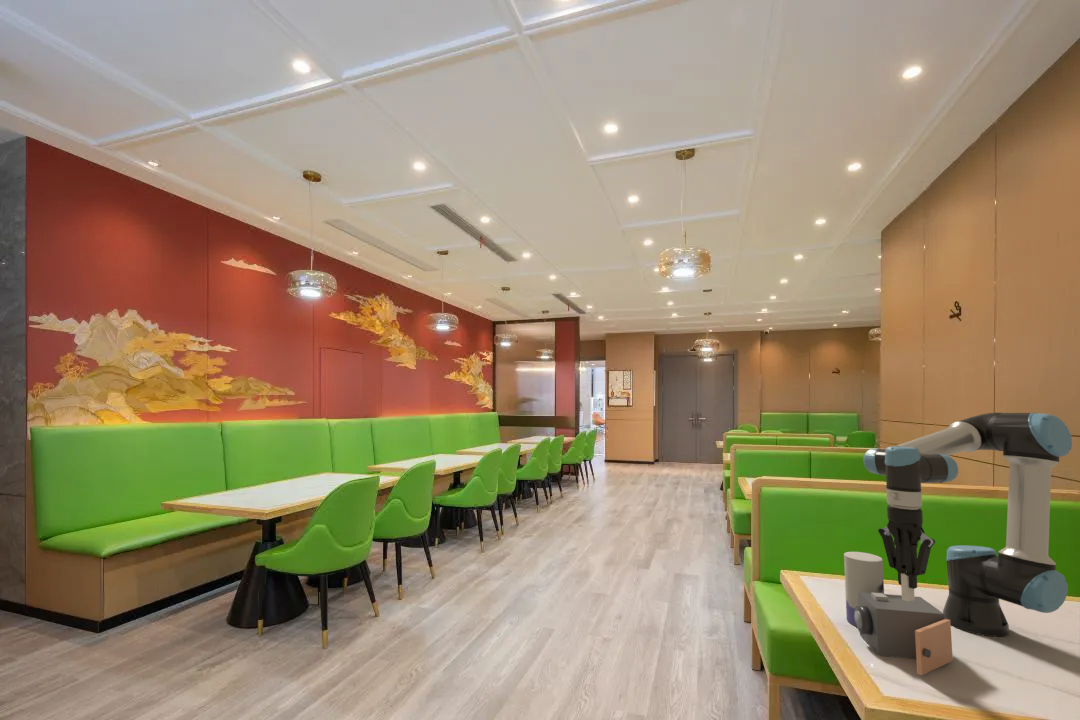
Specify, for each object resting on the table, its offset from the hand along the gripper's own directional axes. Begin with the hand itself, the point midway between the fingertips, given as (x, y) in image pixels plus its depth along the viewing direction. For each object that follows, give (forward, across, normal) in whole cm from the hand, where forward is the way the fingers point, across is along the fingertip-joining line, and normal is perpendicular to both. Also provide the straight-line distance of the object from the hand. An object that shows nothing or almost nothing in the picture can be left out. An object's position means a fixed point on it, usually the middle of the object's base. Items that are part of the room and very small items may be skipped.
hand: (908, 599), depth 130 cm
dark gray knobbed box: (+16, -8, +7) cm, 19 cm away
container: (+16, -21, +14) cm, 30 cm away
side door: (+15, +4, +3) cm, 16 cm away
